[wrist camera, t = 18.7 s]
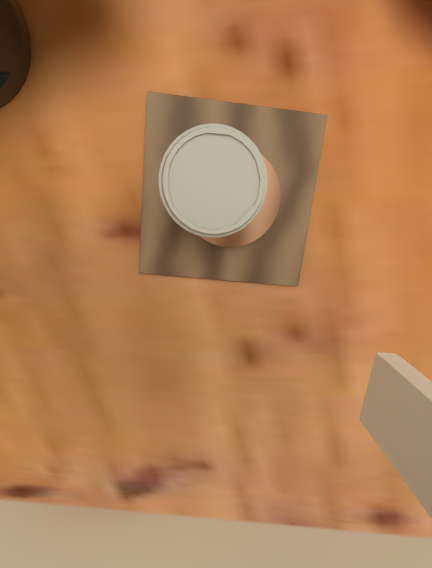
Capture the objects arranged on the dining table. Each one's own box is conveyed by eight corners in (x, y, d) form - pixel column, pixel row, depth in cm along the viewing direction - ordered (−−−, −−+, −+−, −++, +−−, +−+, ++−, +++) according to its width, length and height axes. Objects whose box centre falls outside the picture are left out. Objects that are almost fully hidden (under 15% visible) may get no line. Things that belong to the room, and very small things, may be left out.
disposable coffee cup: (182, 236, 41) (177, 252, 29) (157, 156, 38) (140, 139, 26) (257, 213, 40) (281, 221, 29) (237, 132, 38) (255, 105, 26)
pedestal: (140, 271, 45) (135, 278, 42) (148, 94, 40) (143, 83, 36) (295, 284, 47) (304, 292, 43) (324, 116, 42) (337, 108, 38)
